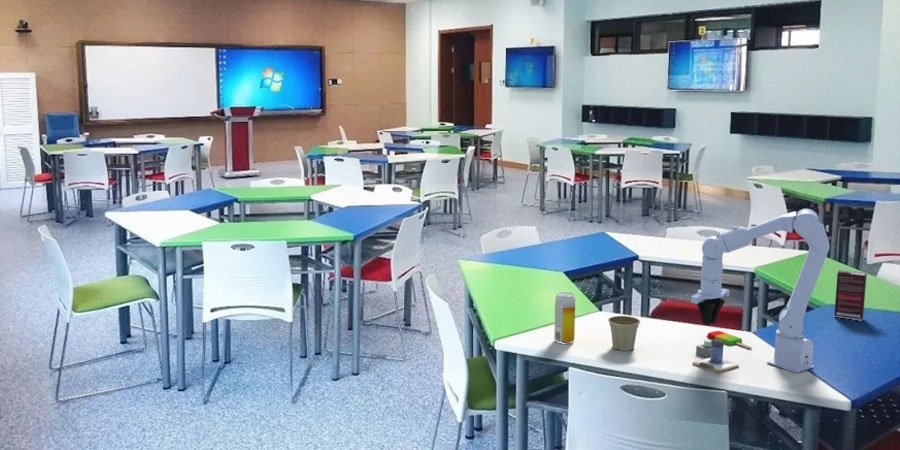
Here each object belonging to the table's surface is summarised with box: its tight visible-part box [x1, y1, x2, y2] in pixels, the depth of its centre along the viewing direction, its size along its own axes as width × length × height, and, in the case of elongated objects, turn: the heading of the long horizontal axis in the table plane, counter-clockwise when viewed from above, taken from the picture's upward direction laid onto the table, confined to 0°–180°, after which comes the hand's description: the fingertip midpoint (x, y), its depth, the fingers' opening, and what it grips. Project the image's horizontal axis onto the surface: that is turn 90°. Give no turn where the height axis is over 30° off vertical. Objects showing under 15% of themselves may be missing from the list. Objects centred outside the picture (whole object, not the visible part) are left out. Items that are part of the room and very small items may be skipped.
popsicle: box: [707, 330, 753, 350], centre depth 236 cm, size 6×15×2 cm, turn 30°
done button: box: [703, 339, 711, 349], centre depth 225 cm, size 2×2×2 cm
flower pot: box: [607, 315, 641, 352], centre depth 231 cm, size 9×9×9 cm
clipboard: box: [691, 357, 740, 374], centre depth 216 cm, size 9×9×1 cm
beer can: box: [553, 291, 576, 343], centre depth 236 cm, size 6×6×15 cm
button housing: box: [695, 343, 711, 358], centre depth 225 cm, size 4×4×2 cm
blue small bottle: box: [710, 339, 725, 364], centre depth 216 cm, size 3×3×6 cm
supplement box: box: [833, 269, 868, 322], centre depth 258 cm, size 9×5×16 cm, turn 58°
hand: (708, 323), depth 224 cm, fingers closed
